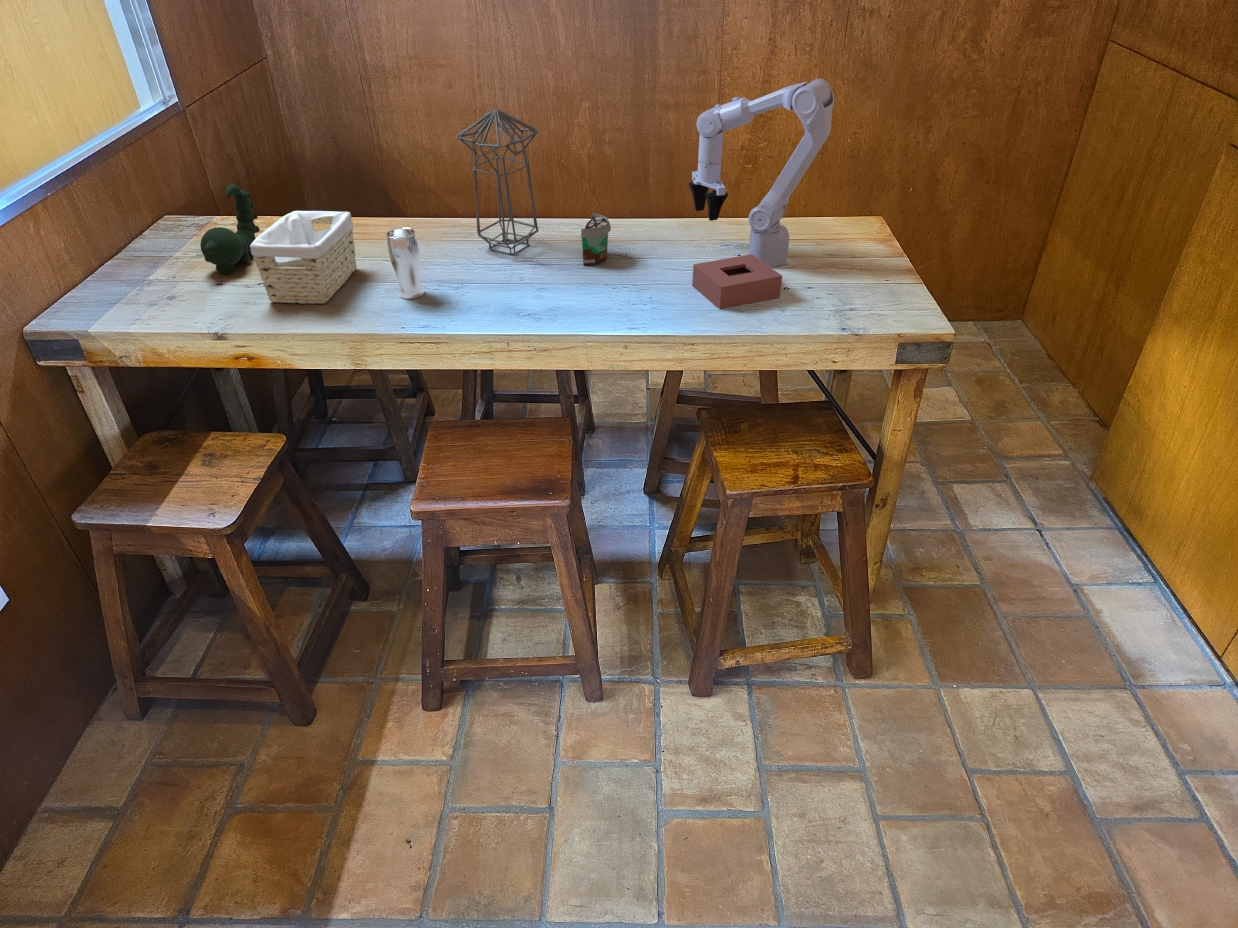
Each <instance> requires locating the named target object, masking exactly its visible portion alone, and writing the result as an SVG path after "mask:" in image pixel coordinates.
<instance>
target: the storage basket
mask: <svg viewBox="0 0 1238 928" xmlns="http://www.w3.org/2000/svg"><path fill="white" fill-rule="evenodd" d="M352 220H353V219H352V214H351V212H350V211H334V210H333V211H331V210H329V211H328V210H325V211H324V210H294V211H292V212H290V213H287V214H285V215H283V216H282V217H281V218H279V219H278V220H276V221H275V222H274V223H273V224H272V225H271V226H269V227H268V228H267V229H265V230H264V231H263V232H261V233H260V234H259V235H258V236H257V237H255V238H256V239H255V240H254V241H253V242H252V244H251V245H250V248H251V253H252V255H253V257H254V258H252V259H253V261H254V263H255V266H256V268H257V269H258V272H259V275H260V279H261V280H262V282H263V287H264V289H265V292H266V294H267V296H268V298H267V299H268V300H269V301H270V302H272V303H282V304H285V303H288V304H296V303H297V304H303V305H304V304H310V305H311V304H318V305H319V304H326V303H327V302H329V301H330V300H331V298H332V297H333V296H334V295H335V293H336V292H337V291H339V290H340V288H341V287H342V286H343V285H344V284H345V283H346V282H347V281H348V280H349V278H350V277H351V275H352V274H354V272H355V271H356V270H357V267H358V266H357V260H356V248H355V239H354V223H353V221H352ZM313 224H325V225H326V224H328V225H330V227H327V228H324V229H321V230H320V231H319V230H318V231H316V230H315V227H314V225H313ZM346 280H347V281H346ZM345 281H346V282H345Z"/></svg>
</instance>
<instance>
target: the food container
mask: <svg viewBox="0 0 1238 928" xmlns="http://www.w3.org/2000/svg"><path fill="white" fill-rule="evenodd" d="M611 230H612V226H611V224H610V221H609V218H608V217H607V216H605V215H603V214H599V213H595V212H594V213H591V217H590V220H588V221H587V223H586V225H585V227H584V228H581V231H580V238H581V246H582V262H583V266H584V267H585V266H586V267H591V266H592V267H593V266H598V265H601V264H603V263H605V262H606V261H607V257H608V243H609V240H608V239H609V233H610V232H611Z"/></svg>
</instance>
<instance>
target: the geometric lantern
mask: <svg viewBox="0 0 1238 928" xmlns="http://www.w3.org/2000/svg"><path fill="white" fill-rule="evenodd" d="M492 124H493V125H494V124H495V132H496V141H497V142H496V143H497V144H490V143H488V142H487V141H486V140H487V138H488V136H489V131H490V130H491V127H492ZM516 124H517V125H516ZM478 125H479V126H478ZM518 125H520V126H522V127H524V128H521V127H519V126H518ZM476 126H478V127H476ZM475 127H476V129H475V130H474V131H473V132H469V131H471V130H472V129H474V128H475ZM499 128H500V130H501V134H502V137H503V138H502V139H503V142H504V143H503V144H504V145H501V141H500V133H499V132H500V131H499ZM509 130H512V134H511V133H510V131H509ZM517 130H518V131H519V132H520V134H519V133H518V132H517ZM467 132H468V133H467ZM484 132H485V133H484ZM524 132H530V133H529V134H528V135H526V136H525V137H523V135H524V134H523V133H524ZM483 133H484V136H483ZM504 133H505V134H506V136H508V138H509V141H508V143H507V141H506V138H505V134H504ZM538 133H539V131H538V129H537V128H536V127H533V126H531V125H530V124H528V123H525V122H524V121H522V120H520V119H517V118H515V117H514V116H512V115H509V114H507V113H506V112H504V111H502V110H500V109H491V110H490V111H489V112H487V113H486V114H485V115H483V116H482V117H481V118H479V119H478V120H476V121H475V122H474V123H473V124H471V125H470V126H468V127H467V128H466V129H464V130H463V131H461V132H460V133H459V134H457V135H455V137H456V138H455V139H456V140H459V141H460V142H461V143H463V145H464V146H465V147H467V148H468V149H469V150H470V151H471V152H472V153H473V158H472V159H473V162H472V163H473V168H472V173H473V186H474V197H475V198H474V199H475V212H476V215H475V216H476V234H477V236H478V237H479V238H481V240H483V241H485V242H486V243H488V250H489V251H491V252H495V253H500V254H505V255H509V256H514V255H516V254H518V253H520V252H522V251H523V250H525V249H527V248H528V247H530V242H529V239H530V238H532V236H534V235H535V234H536V233H539V226H538V225H539V224H538V220H537V214H536V208H535V200H534V196H533V188H532V187H533V186H532V185H533V184H532V178H531V167H530V164H531V163H530V161H529V158H528V155H527V152H526V148H528V146H529V145H530V143H532V141H533V139H534V138H535V137H536V136H537V134H538ZM475 135H476V136H475ZM515 135H516V136H517V138H518V139H516V138H515ZM467 136H472V139H470V138H467ZM479 138H480V141H478V142H477V140H478V139H479ZM527 140H528V141H527ZM466 141H467V142H469V143H471V146H470V145H469V144H468V143H467V142H466ZM525 141H527V142H526V144H524V142H525ZM517 144H521V147H522V148H521V149H520V150H519V151H517V147H516V145H517ZM511 145H513V148H514V150H513V149H512V148H511V147H510V146H511ZM476 146H477V147H480V151H481V153H480V152H479V153H478V152H477V150H476ZM484 147H485V148H486V147H487V148H489V150H488V151H486V152H485V153H484V150H483V148H484ZM499 148H505V149H504V152H503V153H502V156H499V155H498V154H497V153H496V150H498V149H499ZM507 151H509V152H510V153H511V154H513V155H514V156H513V158H511V157H505V156H506V154H507ZM491 153H493V154H495V156H494V157H491V158H488V155H490V154H491ZM520 154H522V155H523V159H524V160H520V159H515V158H516V156H518V155H520ZM476 156H477V158H476ZM480 157H484V158H485V160H484V161H482V162H479V158H480ZM494 159H495V166H496V167H495V166H494V165H493V163H492V162H491V161H492V160H494ZM499 160H502V168H503V174H501V173H500V172H499ZM505 160H509V161H511V162H510V165H509V166H508V169H506V162H505ZM487 162H488V164H489V165H490V167H491V168H492V169H493V171H494V173H493V172H489V171H485V170H481V169H478V166H481V165H483V164H485V163H487ZM514 162H519V163H524V164H525V165H524V166H523V165H522V167H520V168H517V169H514V170H513V171H510V170H511V167H512V165H513V163H514ZM525 168H526V175H527V176H526V177H527V181H528V187H529V193H530V200H531V201H530V202H531V210H532V218H533V224H530V223H526V222H522V221H518V220H514V215H513V208H512V201H511V194H510V188H509V187H510V186H509V180H508V176H509V175H512V174H514V173H516V172H518V171H520V170H522V169H525ZM478 172H479V173H484V174H488V175H492V176H496V186H497V205H498V206H497V207H498V220H497V221H495V222H493V223H491V224H489V225H487V226H486V227H484V228H482V229H481V223H480V222H481V221H480V212H479V199H478V198H479V197H478V196H479V195H478V175H477V173H478ZM502 177H504V185H505V187H504V188H505V194H506V203H507V204H506V205H507V214H508V219H507V218H506V219H505V216H504V215H505V213H504V204H503V194H502V186H501V185H502V184H501V178H502ZM506 222H507V225H505V223H506ZM510 223H511V226H512V232H513V233H512V232H509V226H510ZM497 224H499V225H500V228H501V231H502V232H501V233H499V234H498V235H497V236H495V237H494V238H491V237H487V236H486V235H485V236H484V235H483V234H481V233H482V232H484V231H486V230H488V229H490V228H491V227H493V226H496V225H497ZM515 224H520V225H523V226H527V227H531V230H530V231H529V232H528V233H527V235H524V234H523V235H522V234H517V233H516V228H515ZM534 229H535V230H534ZM533 230H534V231H533ZM509 235H511V236H513V238H514V239H509ZM500 236H501V237H502V240H497V239H498V238H499V237H500ZM517 237H521V238H519V239H517ZM507 241H509V242H507ZM493 242H494V243H493ZM521 244H524V245H525V246H523V247H522V248H520V249H519V250H517V251H516V248H517V247H518V246H519V245H521ZM510 245H513V246H512V247H511V246H510ZM495 246H497V247H500V248H505V249H508V250H509V252H505V251H501V250H496V249H492V248H494V247H495ZM512 250H513V253H512Z"/></svg>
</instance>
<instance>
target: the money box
mask: <svg viewBox="0 0 1238 928" xmlns="http://www.w3.org/2000/svg"><path fill="white" fill-rule="evenodd" d="M737 273H743V274H739V275H734V276H728V275H732V274H737ZM782 281H783V275H782V274H781V273H780V272H778V271H776V270H775V269H773V267H769V266H768V265H767V264H765V263H764V262H762V261H761V260H759V259H758V258H757V257H755V256H754V255H752V254H750V255H748V254H745V255H740V256H733V257H728V258H723V259H716V260H711V261H706V262H700V263H699V262H698V263H694V264H693V267H692V285H691V286H692V287H693V288H694V289H695V290H696V291H698V292H699V293H700V294H701V295H702V296H703V297H704V298H706V299H707V300H708V301H709V302H710V303H712V304H713V306H715V307H716V308H717V309H718V310H722V309H729V308H733V307H734V308H735V307H738V306H739V307H740V306H744V305H749V304H754V303H760V302H765V301H770V300H774V299H779V298H780V296H781V289H782Z"/></svg>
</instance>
